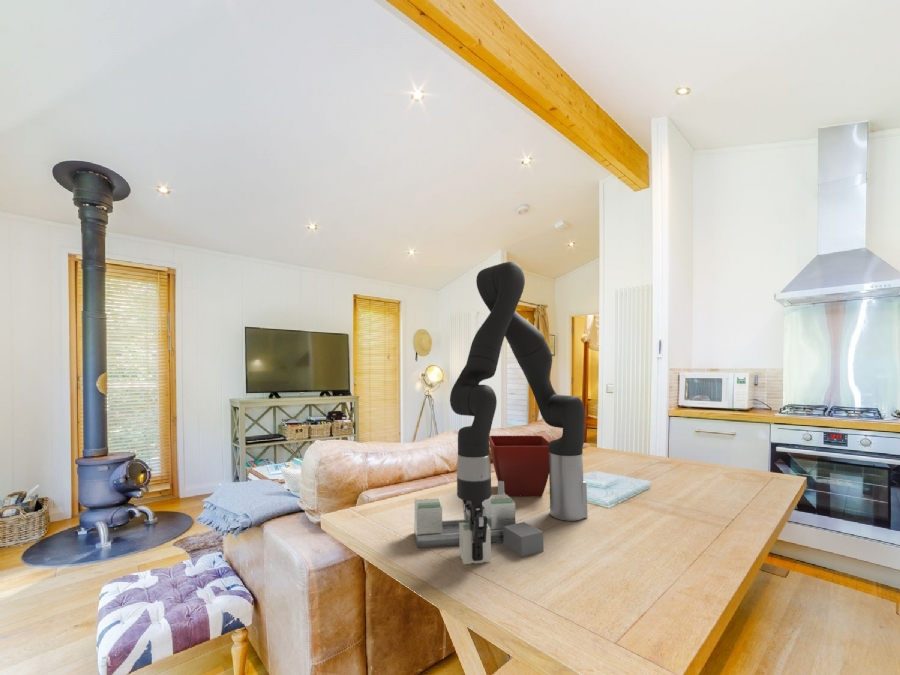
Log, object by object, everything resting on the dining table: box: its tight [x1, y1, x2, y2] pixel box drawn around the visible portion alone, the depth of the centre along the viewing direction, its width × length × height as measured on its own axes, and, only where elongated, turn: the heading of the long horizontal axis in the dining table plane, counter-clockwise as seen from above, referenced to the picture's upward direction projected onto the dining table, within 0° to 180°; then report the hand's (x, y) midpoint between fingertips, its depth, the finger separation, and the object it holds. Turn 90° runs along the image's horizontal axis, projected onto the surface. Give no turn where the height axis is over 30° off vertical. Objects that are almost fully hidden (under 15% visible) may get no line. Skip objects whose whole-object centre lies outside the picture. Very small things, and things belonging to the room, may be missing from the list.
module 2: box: [503, 521, 544, 558], centre depth 97 cm, size 6×7×4 cm
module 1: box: [458, 522, 492, 565], centre depth 92 cm, size 6×4×7 cm
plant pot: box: [489, 435, 551, 498], centre depth 141 cm, size 19×19×17 cm
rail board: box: [413, 494, 516, 549], centre depth 104 cm, size 24×9×9 cm, turn 99°
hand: (474, 554), depth 92 cm, fingers closed on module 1, 4 cm apart
